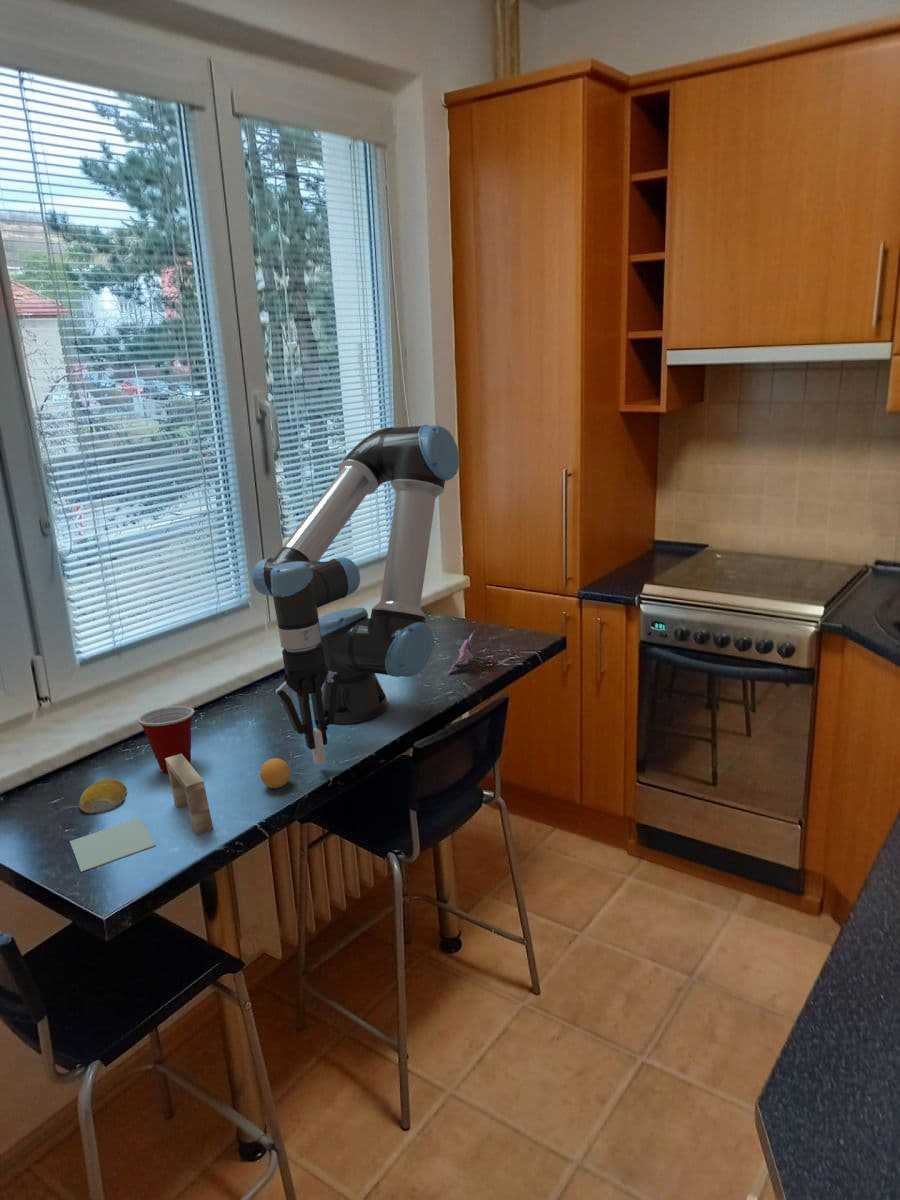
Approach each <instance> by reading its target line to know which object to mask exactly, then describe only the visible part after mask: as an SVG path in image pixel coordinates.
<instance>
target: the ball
mask: <svg viewBox="0 0 900 1200" xmlns="http://www.w3.org/2000/svg"><path fill="white" fill-rule="evenodd" d="M259 776H260V780H261V782H262V783H263V785H265V786H266V787H268V788H270V789H278V788H281V787H283V786H284V785H286V784H287V783H288V781H289V779H290V777H291V770H290V767H289V765H288V763H287V762H286V761H285V760H283V759H281V758H277V757H275V758H270V759H268V760H266V761H265V762H264V763H263V764H262V766H261V768H260V772H259Z"/></svg>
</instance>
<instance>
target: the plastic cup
mask: <svg viewBox="0 0 900 1200" xmlns="http://www.w3.org/2000/svg"><path fill="white" fill-rule="evenodd" d="M194 714H195V709H194V708H193V707H189V706H185V705H184V706H183V705H177V706H176V705H175V706H165V707H161V708H160V707H159V708H155V709H153V710H152V709H151V710H149V711H147V712H144V713H142V714H141V715H140V716H138V718H137V720H138V724H140V725H141V726H142V729H143V731H144V734H145V735H146V738H147V740H148V742H149V746H150V748H151V750H152V753H153V755H154V757H155V759H156V761H157V763H158V766H159V768H160V770H161V771H162V773H163V774H166V775H168V770H167V765H166V760H165V758H168V757H171V756H175V755H178V754H181V753H182V755H183V756H184V757H185V758H186V760H187V761H188V762H189V763H190V765H191V766H192V764H191V763H192V756H191V755H192V753H191V752H192V720H193V715H194Z"/></svg>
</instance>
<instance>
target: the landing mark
mask: <svg viewBox="0 0 900 1200" xmlns="http://www.w3.org/2000/svg"><path fill="white" fill-rule="evenodd" d="M69 844H70V846H71V849H72V851H73V854H75V855H74V857H75V860H76V863H77V865H78V868H79V870H80V873H84V872H87V871H90V870H92V869H95V868H98V867H101V866H103V865H106V864H109V863H111V862H115V861H118V860H120V859H123V858H126V857H128V856H130V855H134V854H137V853H139V852H143V851H145V850H148V849H150V848H154V847H156V846H157V844H156V843H155V841H154V839H153V838H152V836H151V834H150V832H149V830H148V829H147V827H146V825H145V823H144V821H143V820H142V818H141V817H136V818H134V819H131V820H128V821H125V822H122V823H120V824H117V825H114V826H110V827H108V828H104V829H102V830H99V831H96V832H93V833H90V834H86V835H83V836H81V837H79V838H75V839H73V840H72V839H71V840H69ZM89 869H90V870H89ZM86 870H87V871H86ZM83 871H84V872H83Z"/></svg>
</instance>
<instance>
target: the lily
mask: <svg viewBox="0 0 900 1200" xmlns="http://www.w3.org/2000/svg"><path fill="white" fill-rule="evenodd" d="M475 631H476V630H474V631H473V632H472V633H471V634H470V635H469V637H468V639H465V640H464V642H463V643H462V644H461V647H458V648H457V649H456V650H455V651H459V656H458V657H457V659H456V661H455V662H454V663H452V666H451V668H450V669H449V672H448V674H450V673H451V671H452V669H453V668H454V666H455V665H456V664H457V663H459V662H461V661H464V660H466V659H467V660H468V659H469V658H472V659H474V660H475V661H476V662H477V664H479V666H480V667H481V665H482V664H481V663H480V662H479V660H478V659H477V658H475V657H474V656H473V654H472V649H471V640H472V638H473V635H474V633H475ZM455 663H456V664H455Z"/></svg>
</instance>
